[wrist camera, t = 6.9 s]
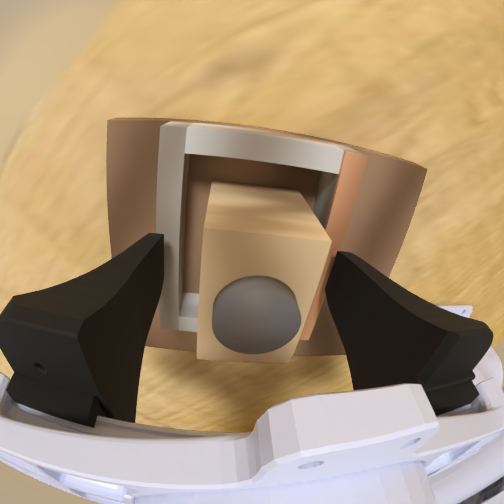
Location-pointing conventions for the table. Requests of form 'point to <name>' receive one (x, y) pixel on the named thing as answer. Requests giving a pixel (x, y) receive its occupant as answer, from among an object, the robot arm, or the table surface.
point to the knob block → (257, 272)
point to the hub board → (258, 173)
